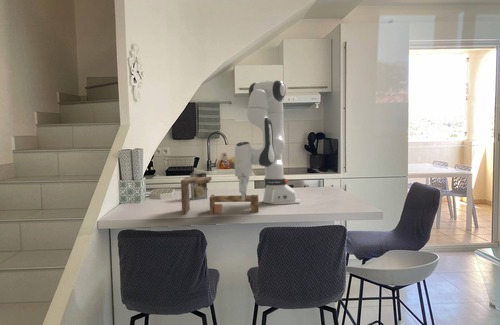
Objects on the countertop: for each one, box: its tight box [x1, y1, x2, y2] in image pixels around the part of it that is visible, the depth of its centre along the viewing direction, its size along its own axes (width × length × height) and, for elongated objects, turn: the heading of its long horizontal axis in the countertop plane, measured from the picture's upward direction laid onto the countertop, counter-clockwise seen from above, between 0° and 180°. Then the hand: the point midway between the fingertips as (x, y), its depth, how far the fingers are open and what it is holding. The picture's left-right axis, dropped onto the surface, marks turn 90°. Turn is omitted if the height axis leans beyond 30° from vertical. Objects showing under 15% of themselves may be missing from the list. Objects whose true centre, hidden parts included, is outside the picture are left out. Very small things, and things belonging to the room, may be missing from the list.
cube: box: [213, 203, 223, 214], centre depth 216 cm, size 4×4×4 cm
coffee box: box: [189, 172, 208, 200], centre depth 258 cm, size 9×6×16 cm
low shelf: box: [180, 176, 212, 216], centre depth 216 cm, size 14×14×18 cm
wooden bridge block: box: [209, 194, 260, 215], centre depth 215 cm, size 26×9×8 cm, turn 88°
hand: (243, 198), depth 215 cm, fingers open, 8 cm apart
